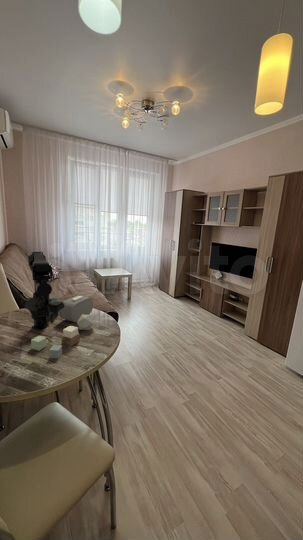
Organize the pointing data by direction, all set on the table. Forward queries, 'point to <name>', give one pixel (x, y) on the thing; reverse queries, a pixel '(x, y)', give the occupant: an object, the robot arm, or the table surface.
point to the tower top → (70, 331)
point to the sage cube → (38, 343)
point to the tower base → (71, 340)
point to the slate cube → (55, 351)
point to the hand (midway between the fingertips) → (43, 321)
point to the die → (85, 322)
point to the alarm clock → (76, 308)
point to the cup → (54, 301)
